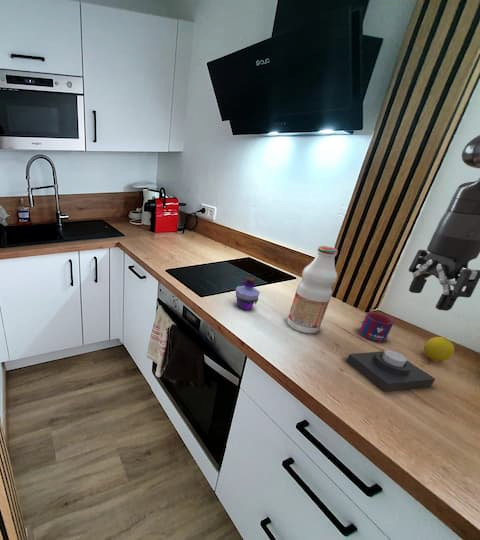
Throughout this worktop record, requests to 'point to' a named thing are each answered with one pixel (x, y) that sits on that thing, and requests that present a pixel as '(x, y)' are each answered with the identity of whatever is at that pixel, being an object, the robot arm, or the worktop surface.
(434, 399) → the worktop surface
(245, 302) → the potion bottle
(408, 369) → the flush plate
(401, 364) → the flush button
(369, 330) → the mug
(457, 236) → the robot arm
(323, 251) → the fruit juice
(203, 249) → the worktop surface
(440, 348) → the lemon
